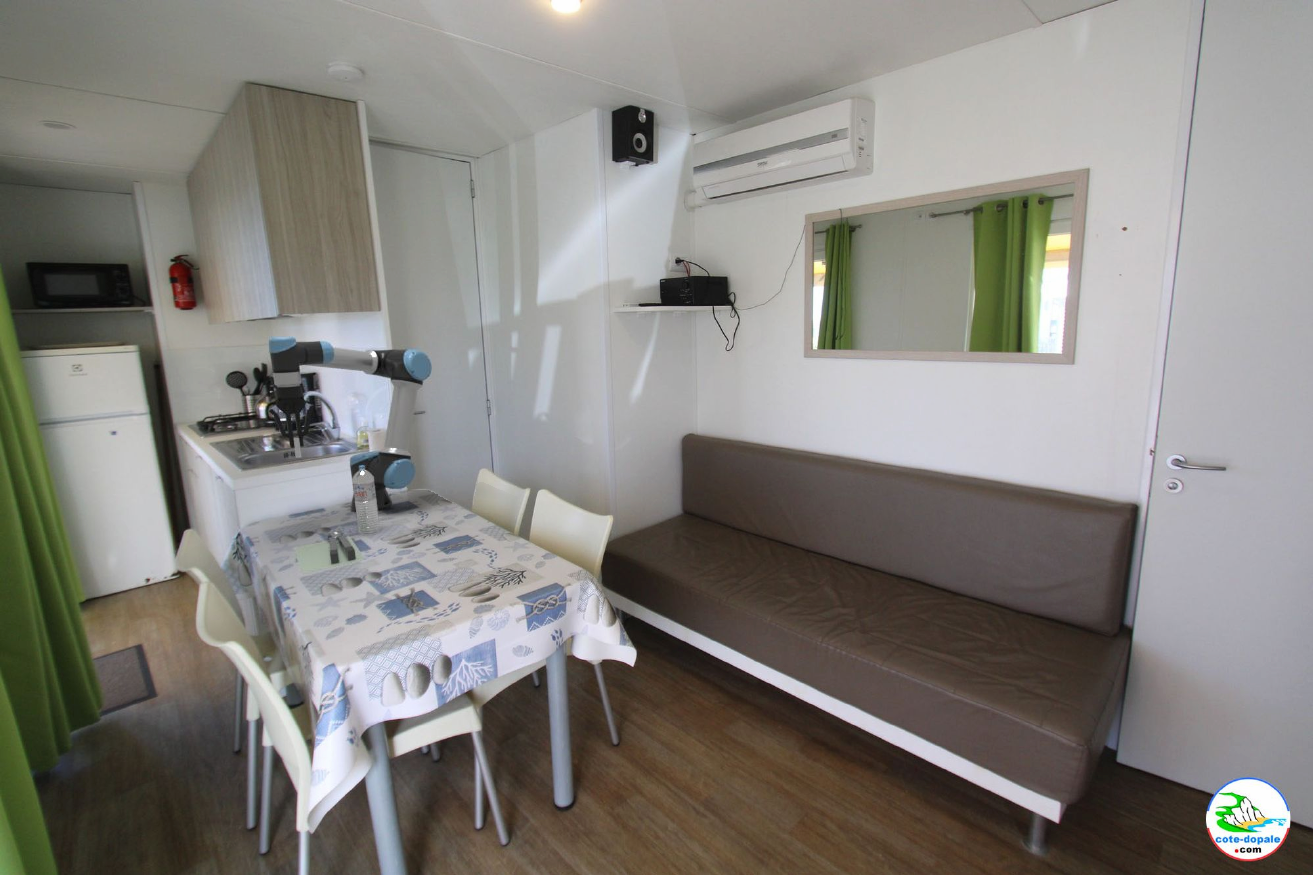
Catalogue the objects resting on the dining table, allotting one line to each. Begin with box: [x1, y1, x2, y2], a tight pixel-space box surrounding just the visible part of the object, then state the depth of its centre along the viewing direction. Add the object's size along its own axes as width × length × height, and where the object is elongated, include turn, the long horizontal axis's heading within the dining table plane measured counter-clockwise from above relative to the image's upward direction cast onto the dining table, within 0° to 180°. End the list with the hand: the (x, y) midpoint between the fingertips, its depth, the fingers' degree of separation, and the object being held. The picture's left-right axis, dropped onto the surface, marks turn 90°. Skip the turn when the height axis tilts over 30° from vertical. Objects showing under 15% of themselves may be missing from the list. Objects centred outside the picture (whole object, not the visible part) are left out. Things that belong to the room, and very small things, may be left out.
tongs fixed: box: [326, 529, 356, 560], centre depth 197 cm, size 5×24×4 cm, turn 36°
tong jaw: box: [329, 537, 339, 564], centre depth 194 cm, size 2×17×3 cm, turn 29°
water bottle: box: [351, 465, 381, 536], centre depth 212 cm, size 7×7×25 cm
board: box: [292, 535, 366, 574], centre depth 195 cm, size 17×26×1 cm, turn 36°
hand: (298, 456), depth 200 cm, fingers closed
